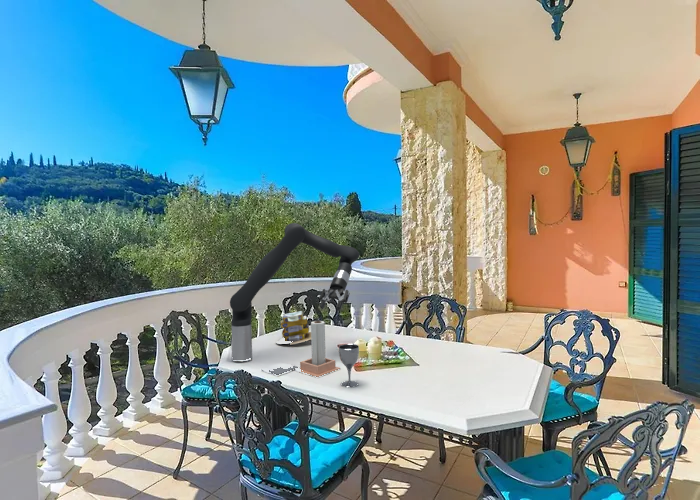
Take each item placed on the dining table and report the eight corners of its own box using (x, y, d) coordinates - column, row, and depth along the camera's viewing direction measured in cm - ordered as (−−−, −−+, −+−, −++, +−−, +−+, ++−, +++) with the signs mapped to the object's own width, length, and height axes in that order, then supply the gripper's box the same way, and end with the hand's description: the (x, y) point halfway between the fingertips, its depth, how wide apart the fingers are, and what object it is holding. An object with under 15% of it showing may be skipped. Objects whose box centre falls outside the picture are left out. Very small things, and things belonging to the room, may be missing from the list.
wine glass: (342, 388, 152) (341, 350, 151) (337, 381, 159) (336, 344, 159) (362, 386, 154) (361, 348, 153) (356, 379, 161) (355, 343, 161)
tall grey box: (318, 366, 179) (317, 319, 178) (328, 369, 175) (327, 321, 174) (307, 371, 173) (306, 322, 172) (317, 373, 169) (316, 324, 169)
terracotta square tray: (295, 371, 173) (295, 362, 173) (318, 363, 184) (318, 354, 184) (317, 377, 164) (317, 368, 164) (340, 369, 175) (340, 360, 174)
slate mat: (260, 370, 175) (260, 368, 175) (281, 363, 184) (281, 362, 184) (277, 376, 167) (277, 374, 167) (299, 368, 176) (299, 367, 176)
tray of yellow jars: (269, 347, 214) (268, 316, 213) (283, 335, 238) (282, 308, 238) (313, 347, 210) (312, 316, 210) (322, 336, 235) (322, 308, 235)
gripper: (324, 276, 194) (313, 303, 184) (350, 276, 188) (340, 304, 178) (330, 285, 199) (319, 312, 189) (355, 286, 193) (345, 314, 183)
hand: (329, 308), depth 184 cm, fingers open, 8 cm apart
